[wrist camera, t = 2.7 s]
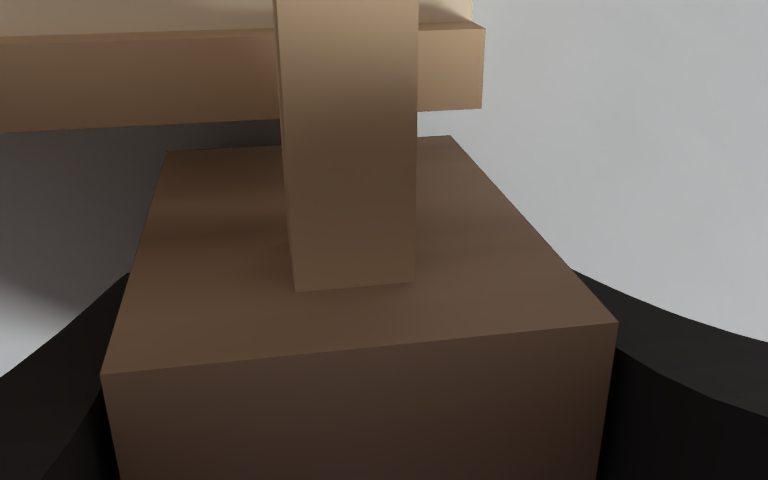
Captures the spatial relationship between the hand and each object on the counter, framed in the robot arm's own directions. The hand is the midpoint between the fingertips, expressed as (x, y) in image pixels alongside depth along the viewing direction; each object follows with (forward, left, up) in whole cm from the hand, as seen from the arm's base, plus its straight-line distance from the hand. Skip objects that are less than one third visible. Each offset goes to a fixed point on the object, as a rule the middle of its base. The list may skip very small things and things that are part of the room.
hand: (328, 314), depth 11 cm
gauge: (+2, 0, -2) cm, 3 cm away
